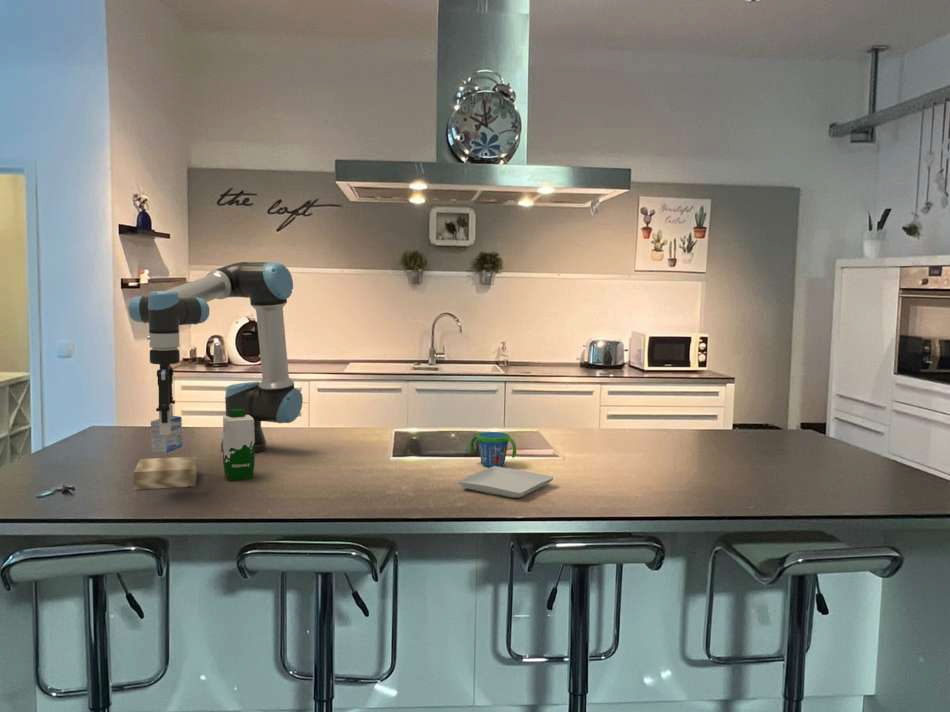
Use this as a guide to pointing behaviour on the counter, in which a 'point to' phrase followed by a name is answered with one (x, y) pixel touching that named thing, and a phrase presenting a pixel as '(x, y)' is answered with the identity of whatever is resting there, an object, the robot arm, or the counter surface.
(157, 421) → the medicine box
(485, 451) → the snack cup
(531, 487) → the salad plate
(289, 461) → the counter surface
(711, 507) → the counter surface
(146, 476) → the beige slab
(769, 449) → the counter surface
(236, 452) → the milk carton
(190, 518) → the counter surface
